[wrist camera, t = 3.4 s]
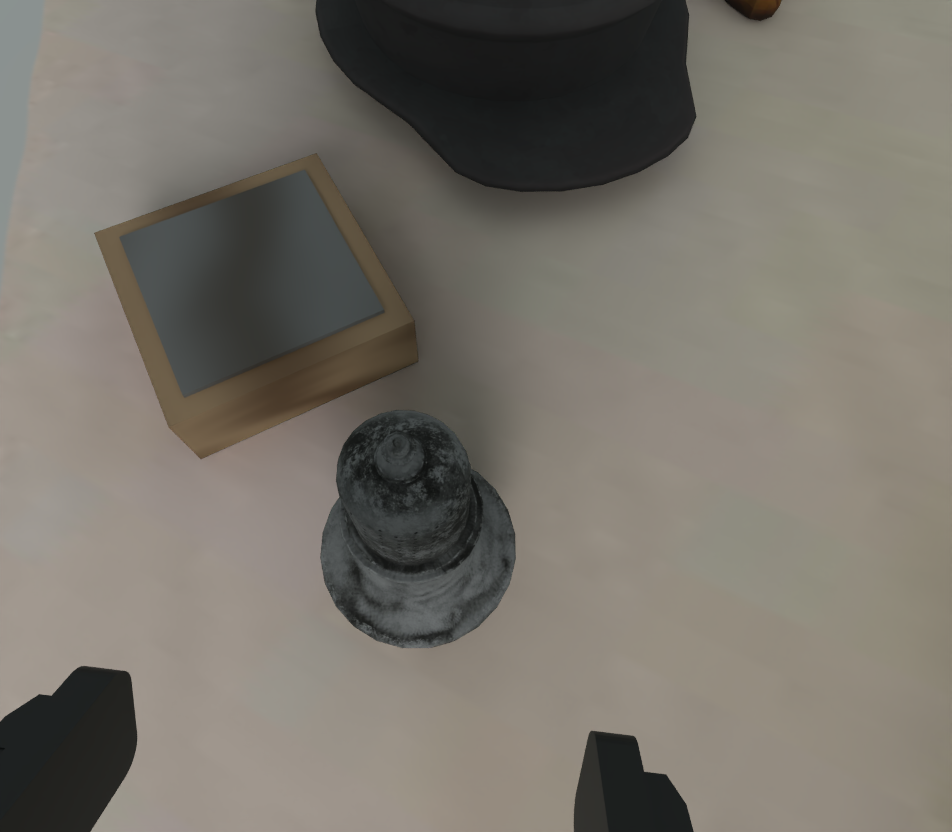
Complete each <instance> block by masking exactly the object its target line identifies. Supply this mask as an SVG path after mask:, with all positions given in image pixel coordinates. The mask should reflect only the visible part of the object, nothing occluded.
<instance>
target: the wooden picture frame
mask: <svg viewBox="0 0 952 832" xmlns="http://www.w3.org/2000/svg"><path fill="white" fill-rule="evenodd" d="M94 234H95V236H96V239H97V241H98V244H99V247H100V249H101V252H102V255H103V257H104V260H105V262H106V265H107V268H108V270H109V273H110V275H111V278H112V281H113V283H114V286H115V288H116V291H117V294H118V296H119V299H120V301H121V304H122V307H123V309H124V312H125V314H126V317H127V320H128V322H129V325H130V327H131V330H132V333H133V335H134V338H135V340H136V343H137V346H138V348H139V351H140V354H141V356H142V359H143V361H144V364H145V367H146V369H147V372H148V374H149V377H150V380H151V382H152V385H153V387H154V390H155V393H156V395H157V398H158V400H159V403H160V406H161V408H162V411H163V413H164V416H165V419H166V421H167V424H168V426H169V428H170V429H171V430H172V431H173V432H174V433H175V434H176V435H177V436H178V437H179V438H180V439H181V440H182V441H183V442H184V443H185V444H186V445H187V446H188V447H189V448H190V449H191V450H192V451H193V452H194V453H195V454H196V455H197V456H198V457H199V458H200V459H202V458H204V457H206V456H208V455H211V454H213V453H215V452H217V451H220V450H222V449H224V448H226V447H228V446H231V445H233V444H235V443H237V442H240V441H242V440H244V439H246V438H249V437H251V436H253V435H255V434H257V433H260V432H262V431H264V430H266V429H269V428H271V427H273V426H275V425H277V424H280V423H282V422H284V421H286V420H289V419H291V418H293V417H295V416H298V415H300V414H302V413H304V412H306V411H309V410H311V409H313V408H315V407H318V406H320V405H322V404H324V403H326V402H329V401H331V400H333V399H335V398H338V397H340V396H342V395H344V394H346V393H349V392H351V391H353V390H355V389H358V388H360V387H362V386H364V385H367V384H369V383H371V382H373V381H375V380H378V379H380V378H382V377H384V376H387V375H389V374H391V373H393V372H395V371H398V370H400V369H402V368H404V367H407V366H409V365H411V364H413V363H415V362H418V353H417V343H416V333H415V323H414V319H413V318H412V316H411V314H410V313H409V311H408V309H407V307H406V306H405V304H404V302H403V301H402V299H401V297H400V295H399V294H398V292H397V290H396V289H395V287H394V285H393V283H392V282H391V280H390V278H389V277H388V275H387V273H386V271H385V270H384V268H383V266H382V265H381V263H380V261H379V259H378V258H377V256H376V254H375V253H374V251H373V249H372V247H371V246H370V244H369V242H368V241H367V239H366V237H365V235H364V234H363V232H362V230H361V229H360V227H359V225H358V223H357V222H356V220H355V218H354V216H353V215H352V213H351V211H350V210H349V208H348V206H347V204H346V203H345V201H344V199H343V198H342V196H341V194H340V192H339V191H338V189H337V187H336V186H335V184H334V182H333V180H332V179H331V177H330V175H329V174H328V172H327V170H326V168H325V167H324V165H323V163H322V162H321V160H320V158H319V156H318V155H317V153H316V154H313V155H310V156H307V157H305V158H302V159H299V160H296V161H293V162H291V163H288V164H285V165H282V166H280V167H277V168H274V169H271V170H268V171H266V172H263V173H260V174H257V175H254V176H252V177H249V178H246V179H243V180H240V181H238V182H235V183H232V184H229V185H227V186H224V187H221V188H218V189H215V190H213V191H210V192H207V193H204V194H201V195H199V196H196V197H193V198H190V199H187V200H185V201H182V202H179V203H176V204H173V205H171V206H168V207H165V208H162V209H160V210H157V211H154V212H151V213H148V214H146V215H143V216H140V217H137V218H134V219H132V220H129V221H126V222H123V223H120V224H118V225H115V226H112V227H109V228H107V229H104V230H101V231H98V232H95V233H94Z"/></svg>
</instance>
